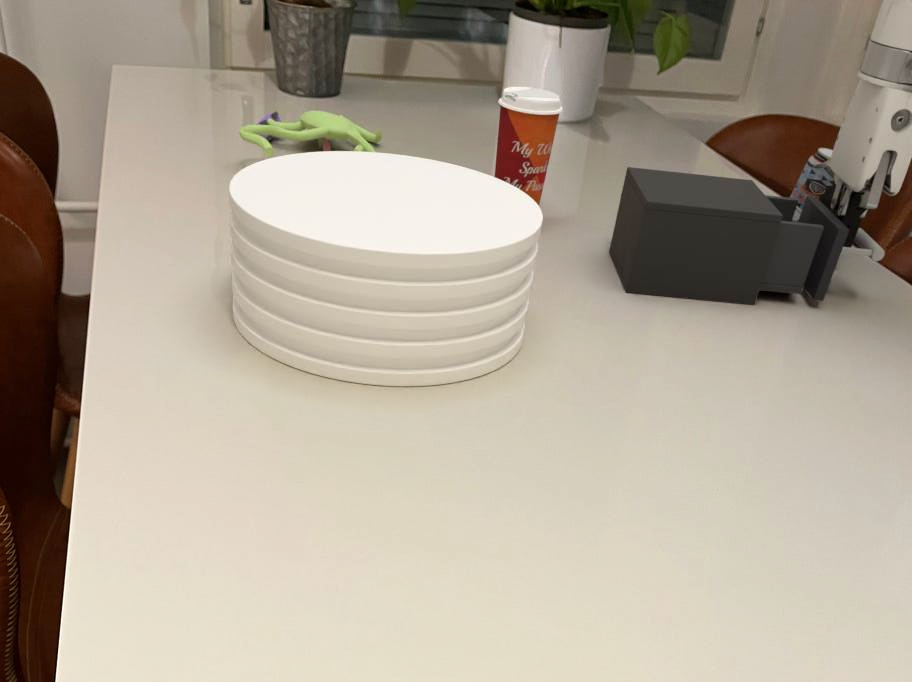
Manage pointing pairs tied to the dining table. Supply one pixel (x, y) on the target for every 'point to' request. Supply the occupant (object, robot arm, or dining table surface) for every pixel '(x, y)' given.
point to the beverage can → (815, 181)
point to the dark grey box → (693, 236)
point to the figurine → (309, 131)
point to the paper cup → (526, 137)
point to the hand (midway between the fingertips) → (833, 249)
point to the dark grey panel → (810, 248)
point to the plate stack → (381, 266)
